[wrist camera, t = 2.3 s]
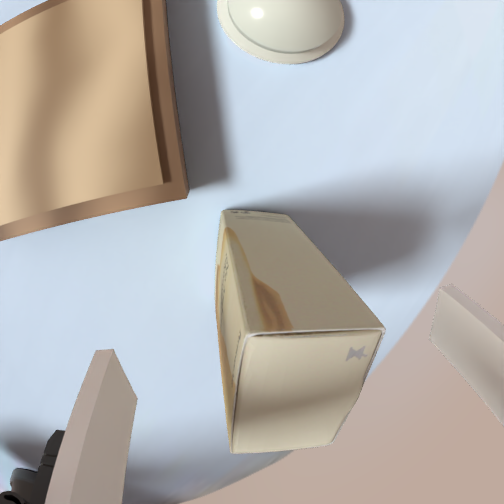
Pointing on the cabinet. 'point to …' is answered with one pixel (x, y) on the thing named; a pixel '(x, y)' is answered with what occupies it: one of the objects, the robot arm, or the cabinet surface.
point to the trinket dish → (282, 27)
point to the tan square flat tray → (86, 113)
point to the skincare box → (286, 336)
